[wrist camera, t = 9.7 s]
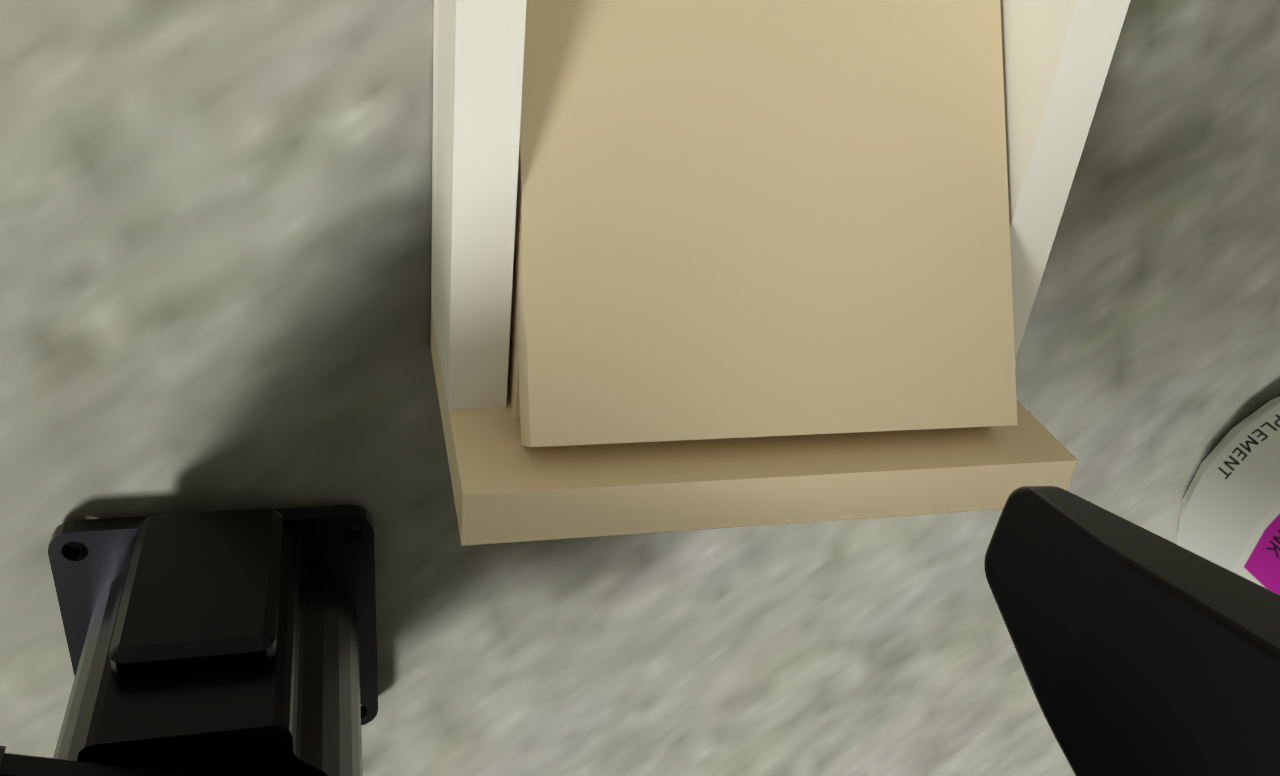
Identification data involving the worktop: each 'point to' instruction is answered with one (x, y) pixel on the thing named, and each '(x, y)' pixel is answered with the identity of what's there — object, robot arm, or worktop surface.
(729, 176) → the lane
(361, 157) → the worktop surface
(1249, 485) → the supplement can
